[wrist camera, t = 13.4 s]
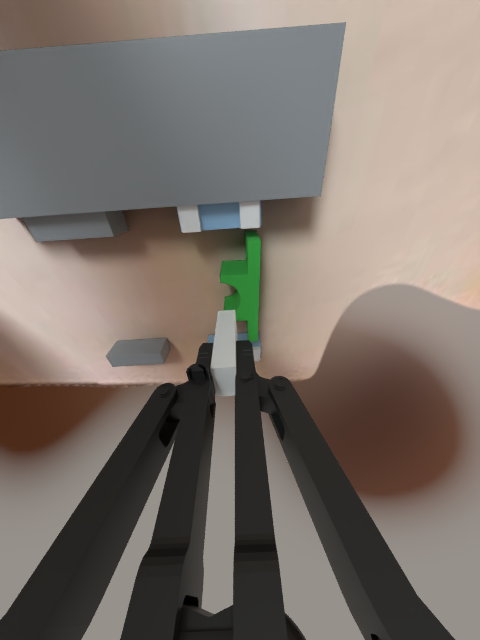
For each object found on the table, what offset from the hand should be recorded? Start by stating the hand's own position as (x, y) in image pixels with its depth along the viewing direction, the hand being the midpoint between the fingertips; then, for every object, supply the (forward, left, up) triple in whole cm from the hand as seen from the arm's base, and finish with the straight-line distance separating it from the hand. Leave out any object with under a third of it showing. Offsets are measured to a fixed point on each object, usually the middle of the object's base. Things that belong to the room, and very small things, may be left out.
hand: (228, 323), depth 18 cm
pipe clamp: (+1, +1, -8) cm, 8 cm away
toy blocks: (-6, +4, -7) cm, 10 cm away
